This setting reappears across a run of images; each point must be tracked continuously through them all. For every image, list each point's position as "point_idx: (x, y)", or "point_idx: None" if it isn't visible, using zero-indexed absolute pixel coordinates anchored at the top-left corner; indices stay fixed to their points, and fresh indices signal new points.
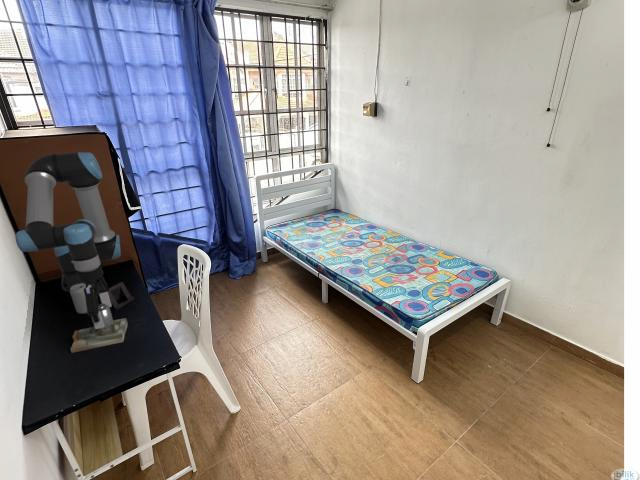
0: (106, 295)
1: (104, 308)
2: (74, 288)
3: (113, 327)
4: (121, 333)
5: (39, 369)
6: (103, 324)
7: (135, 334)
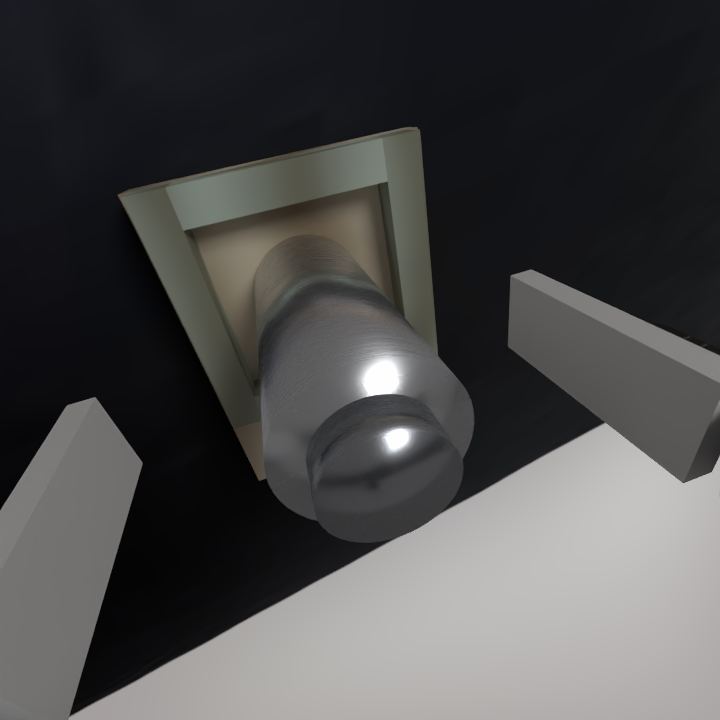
0: (9, 603)
1: (412, 402)
2: None
3: (325, 248)
4: (402, 136)
5: (502, 459)
6: (549, 282)
7: (313, 30)
